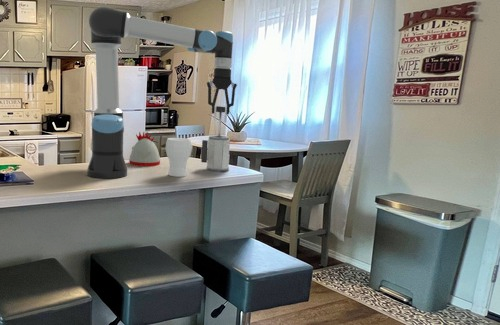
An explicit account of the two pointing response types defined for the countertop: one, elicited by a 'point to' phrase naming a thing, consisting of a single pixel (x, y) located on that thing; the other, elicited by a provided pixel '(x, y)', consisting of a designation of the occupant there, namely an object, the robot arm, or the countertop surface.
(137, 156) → the grey and red dome
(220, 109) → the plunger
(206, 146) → the carafe
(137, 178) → the countertop surface
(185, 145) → the cup
